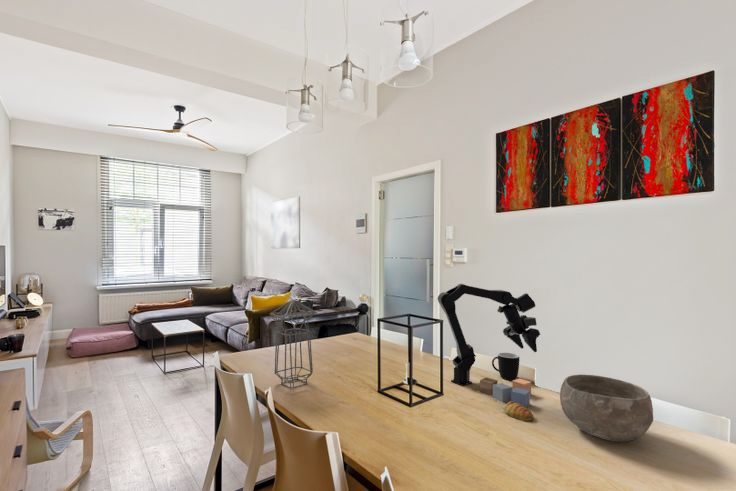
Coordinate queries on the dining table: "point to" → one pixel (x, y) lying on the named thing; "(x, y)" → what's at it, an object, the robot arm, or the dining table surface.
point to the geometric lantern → (289, 306)
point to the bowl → (607, 407)
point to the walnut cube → (487, 386)
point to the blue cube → (520, 396)
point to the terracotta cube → (521, 384)
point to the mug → (507, 365)
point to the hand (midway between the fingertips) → (529, 350)
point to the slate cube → (502, 392)
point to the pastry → (518, 411)
